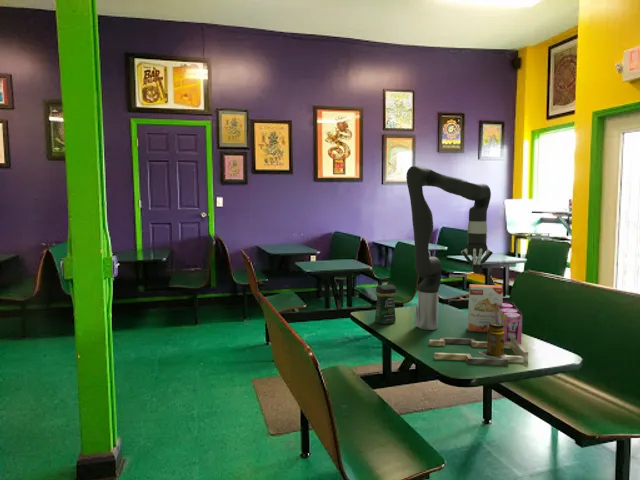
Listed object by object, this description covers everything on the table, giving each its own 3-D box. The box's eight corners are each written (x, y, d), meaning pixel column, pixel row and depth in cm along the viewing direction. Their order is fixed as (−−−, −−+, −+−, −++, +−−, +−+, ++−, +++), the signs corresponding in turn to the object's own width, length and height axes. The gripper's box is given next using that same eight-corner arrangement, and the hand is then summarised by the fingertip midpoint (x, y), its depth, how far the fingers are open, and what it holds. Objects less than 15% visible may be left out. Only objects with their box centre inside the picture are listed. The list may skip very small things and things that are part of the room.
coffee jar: (380, 325, 213) (380, 287, 211) (372, 321, 220) (373, 284, 218) (398, 323, 216) (398, 285, 214) (390, 319, 223) (390, 282, 222)
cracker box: (468, 331, 203) (469, 286, 201) (467, 327, 208) (468, 283, 206) (501, 333, 199) (503, 287, 197) (499, 329, 205) (501, 285, 203)
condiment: (508, 355, 173) (509, 325, 171) (492, 359, 169) (493, 328, 168) (493, 349, 179) (495, 320, 178) (477, 353, 176) (478, 323, 174)
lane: (436, 362, 165) (436, 352, 165) (428, 341, 189) (428, 332, 189) (531, 366, 161) (531, 355, 161) (511, 344, 185) (511, 335, 185)
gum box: (522, 349, 180) (524, 315, 178) (501, 347, 182) (502, 314, 180) (511, 331, 203) (513, 301, 201) (493, 330, 205) (494, 300, 203)
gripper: (491, 231, 189) (490, 271, 191) (459, 231, 191) (458, 271, 192) (496, 232, 182) (494, 275, 183) (462, 232, 183) (461, 274, 185)
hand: (475, 273), depth 188 cm, fingers closed
